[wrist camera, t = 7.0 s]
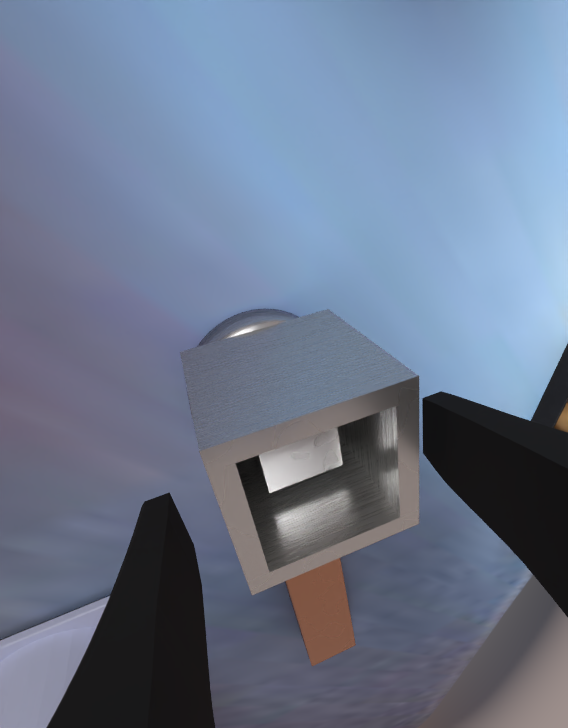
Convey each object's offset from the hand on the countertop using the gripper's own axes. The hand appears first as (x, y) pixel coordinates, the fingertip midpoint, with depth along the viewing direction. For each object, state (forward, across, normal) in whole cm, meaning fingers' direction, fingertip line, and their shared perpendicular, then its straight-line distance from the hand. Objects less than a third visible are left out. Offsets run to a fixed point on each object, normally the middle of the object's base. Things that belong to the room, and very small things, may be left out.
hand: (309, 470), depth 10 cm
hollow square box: (+4, 0, 0) cm, 4 cm away
